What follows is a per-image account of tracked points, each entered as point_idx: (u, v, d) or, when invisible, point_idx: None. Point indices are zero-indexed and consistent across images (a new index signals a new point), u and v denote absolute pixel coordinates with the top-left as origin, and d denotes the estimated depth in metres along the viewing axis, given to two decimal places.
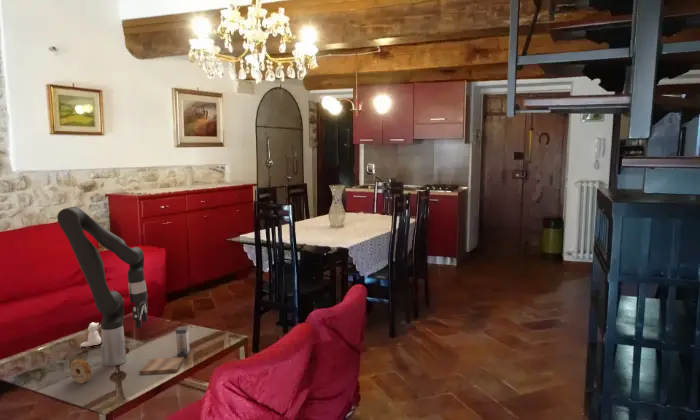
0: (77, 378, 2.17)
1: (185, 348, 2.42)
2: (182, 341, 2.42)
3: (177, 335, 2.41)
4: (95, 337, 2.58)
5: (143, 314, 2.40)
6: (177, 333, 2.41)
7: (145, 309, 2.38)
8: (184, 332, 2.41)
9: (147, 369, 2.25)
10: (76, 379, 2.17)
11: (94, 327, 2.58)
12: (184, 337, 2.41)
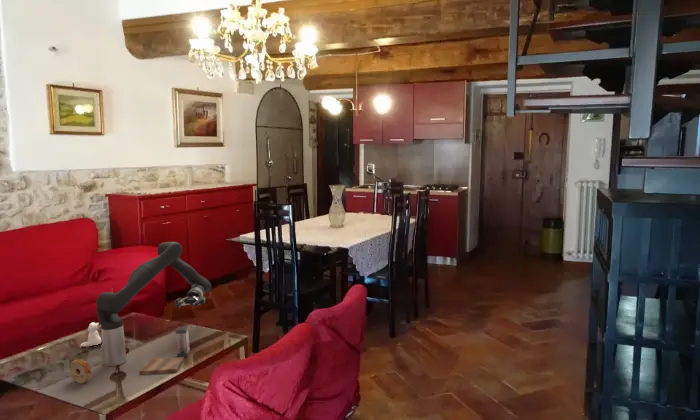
0: (77, 378, 2.17)
1: (185, 348, 2.42)
2: (182, 341, 2.42)
3: (177, 335, 2.41)
4: (95, 337, 2.58)
5: (180, 303, 2.57)
6: (177, 333, 2.41)
7: (185, 304, 2.60)
8: (184, 332, 2.41)
9: (147, 369, 2.25)
10: (76, 379, 2.17)
11: (94, 327, 2.58)
12: (184, 337, 2.41)
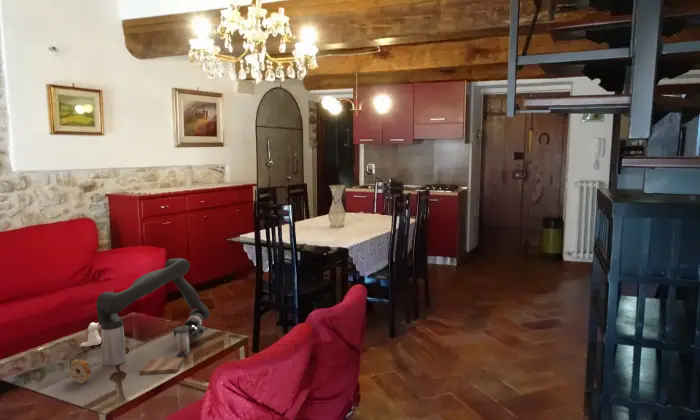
0: (77, 378, 2.17)
1: (185, 348, 2.42)
2: (182, 341, 2.42)
3: (177, 335, 2.41)
4: (95, 337, 2.58)
5: None
6: (177, 333, 2.41)
7: None
8: (184, 332, 2.41)
9: (147, 369, 2.25)
10: (76, 379, 2.17)
11: (94, 327, 2.58)
12: (184, 337, 2.41)
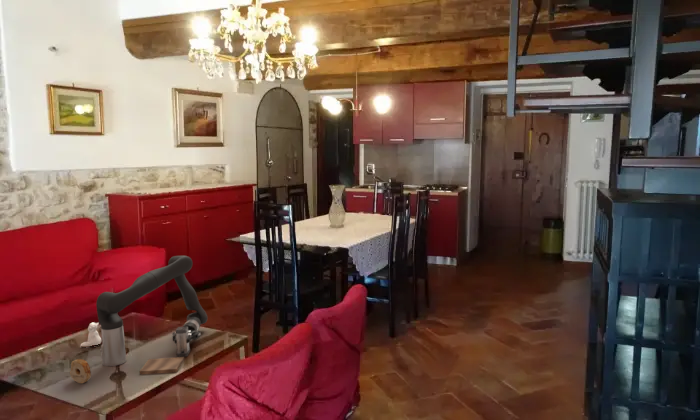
0: (77, 378, 2.17)
1: (185, 348, 2.42)
2: (182, 341, 2.42)
3: (177, 335, 2.41)
4: (95, 337, 2.58)
5: None
6: (177, 333, 2.41)
7: None
8: (184, 332, 2.41)
9: (147, 369, 2.25)
10: (76, 379, 2.17)
11: (94, 327, 2.58)
12: (184, 337, 2.41)
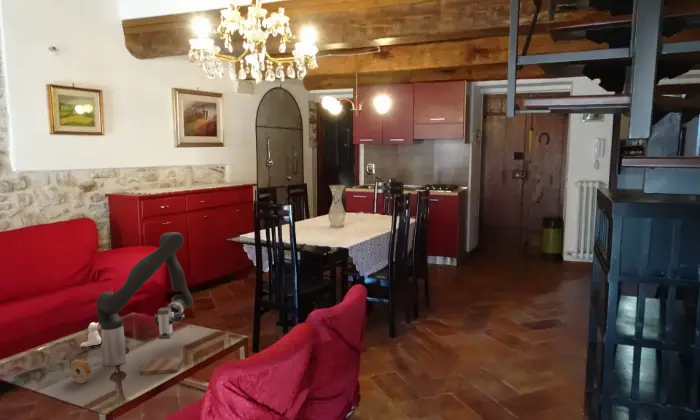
0: (77, 378, 2.17)
1: (168, 330, 2.30)
2: (164, 322, 2.30)
3: (159, 316, 2.29)
4: (95, 337, 2.58)
5: None
6: (159, 314, 2.29)
7: None
8: (166, 313, 2.29)
9: (147, 369, 2.25)
10: (76, 379, 2.17)
11: (94, 327, 2.58)
12: (166, 318, 2.30)
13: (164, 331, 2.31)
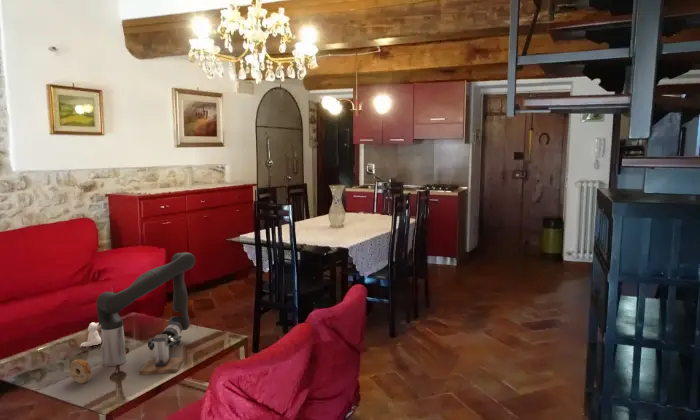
0: (77, 378, 2.17)
1: (164, 357, 2.28)
2: (161, 350, 2.28)
3: (155, 343, 2.27)
4: (95, 337, 2.58)
5: (153, 344, 2.31)
6: (155, 341, 2.27)
7: None
8: (163, 340, 2.27)
9: (147, 369, 2.25)
10: (76, 379, 2.17)
11: (94, 327, 2.58)
12: (163, 345, 2.28)
13: (160, 358, 2.29)
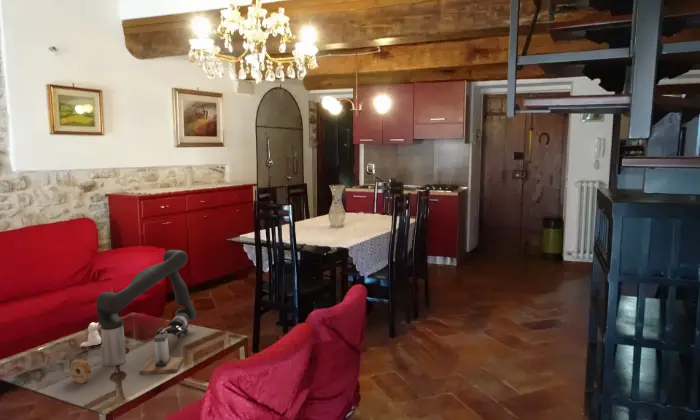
0: (77, 378, 2.17)
1: (164, 357, 2.28)
2: (161, 350, 2.28)
3: (155, 343, 2.27)
4: (95, 337, 2.58)
5: (162, 333, 2.45)
6: (155, 341, 2.27)
7: None
8: (163, 340, 2.27)
9: (147, 369, 2.25)
10: (76, 379, 2.17)
11: (94, 327, 2.58)
12: (163, 345, 2.28)
13: (160, 358, 2.29)
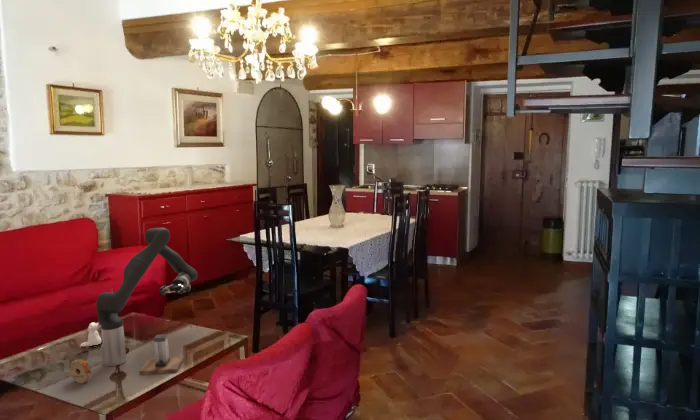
0: (77, 378, 2.17)
1: (164, 357, 2.28)
2: (161, 350, 2.28)
3: (155, 343, 2.27)
4: (95, 337, 2.58)
5: (165, 290, 2.53)
6: (155, 341, 2.27)
7: (170, 292, 2.56)
8: (163, 340, 2.27)
9: (147, 369, 2.25)
10: (76, 379, 2.17)
11: (94, 327, 2.58)
12: (163, 345, 2.28)
13: (160, 358, 2.29)
